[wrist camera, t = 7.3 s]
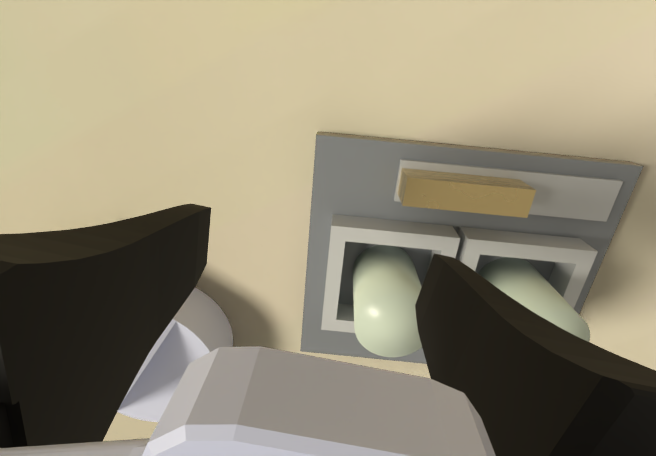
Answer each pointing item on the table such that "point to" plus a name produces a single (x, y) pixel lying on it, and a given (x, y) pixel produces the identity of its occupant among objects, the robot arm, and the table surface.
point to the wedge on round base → (176, 355)
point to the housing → (440, 234)
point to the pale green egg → (534, 293)
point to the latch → (465, 193)
